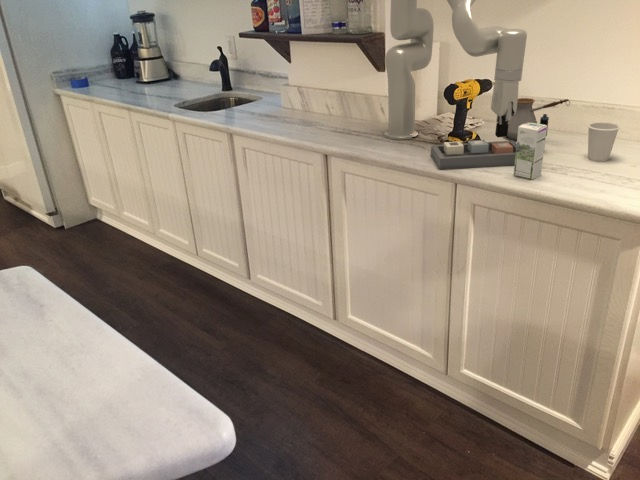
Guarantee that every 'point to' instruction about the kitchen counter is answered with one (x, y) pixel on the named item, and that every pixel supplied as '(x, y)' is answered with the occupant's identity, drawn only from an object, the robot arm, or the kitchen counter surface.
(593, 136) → the dixie cup
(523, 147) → the syrup box
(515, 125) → the coffee pot
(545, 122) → the vaping device
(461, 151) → the key ivory
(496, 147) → the key coral
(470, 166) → the keypad base
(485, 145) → the key slate
